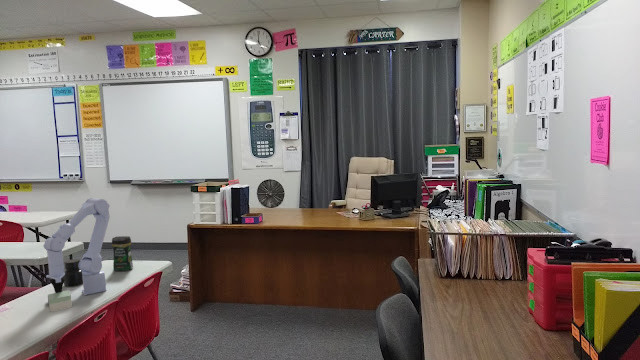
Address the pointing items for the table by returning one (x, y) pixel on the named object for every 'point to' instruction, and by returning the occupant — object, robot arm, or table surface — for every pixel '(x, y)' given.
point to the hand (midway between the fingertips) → (58, 294)
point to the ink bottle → (72, 273)
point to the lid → (59, 297)
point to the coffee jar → (122, 253)
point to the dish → (60, 305)
